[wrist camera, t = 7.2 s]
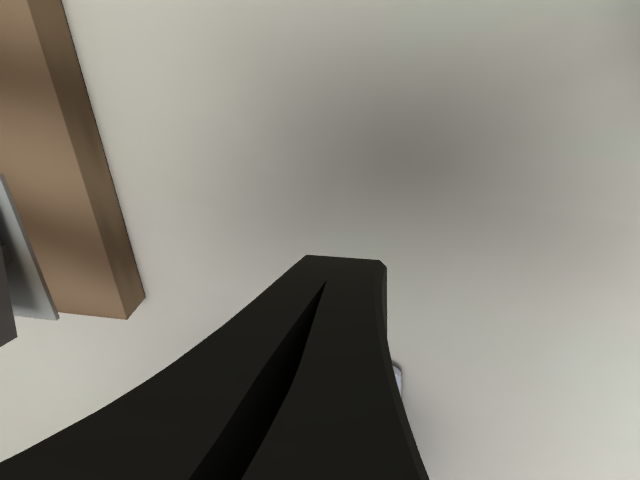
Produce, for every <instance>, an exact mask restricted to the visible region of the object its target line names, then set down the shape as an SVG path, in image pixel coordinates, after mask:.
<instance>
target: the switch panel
mask: <svg viewBox="0 0 640 480" xmlns="http://www.w3.org/2000/svg"><path fill="white" fill-rule="evenodd" d="M0 242H1V248H2V253H3V259H4V264H5V270H6V276H7V281H8V287H9V293H10V298H11V304H12V310H13V315H14V316H21V317H29V318H38V319H47V320H56V321H57V320H58V319H59V318H60V317H59V315H58V312H62V313H71V314H80V315H89V316H98V317H107V318H116V319H125V320H127V319H128V318H129V317H130V316H131V314H132V313H133V312H134V311H135V310H136V308H137V307H138V306H139V305H140V303H141V302H142V301H143V300H144V299H145V295H144V291H143V288H142V284H141V281H140V277H139V274H138V270H137V267H136V263H135V260H134V256H133V253H132V249H131V246H130V242H129V239H128V235H127V232H126V228H125V225H124V221H123V218H122V214H121V211H120V207H119V204H118V200H117V197H116V193H115V190H114V186H113V182H112V179H111V175H110V172H109V168H108V165H107V161H106V158H105V154H104V151H103V147H102V144H101V140H100V137H99V133H98V130H97V126H96V123H95V119H94V116H93V112H92V109H91V105H90V102H89V98H88V95H87V91H86V88H85V84H84V81H83V77H82V74H81V70H80V67H79V63H78V60H77V56H76V53H75V49H74V46H73V42H72V39H71V35H70V32H69V28H68V25H67V21H66V17H65V14H64V10H63V7H62V3H61V0H0Z"/></svg>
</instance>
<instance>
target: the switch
mask: <svg viewBox="0 0 640 480" xmlns="http://www.w3.org/2000/svg"><path fill="white" fill-rule="evenodd" d="M16 337H17V332H16V326H15V321H14V315H13V310H12V304H11V298H10V293H9V287H8V281H7V276H6V270H5V264H4V259H3V253H2V248H1V242H0V347H1V346H3V345H4V344H6V343H8V342H10V341H11V340H13V339H15V338H16Z"/></svg>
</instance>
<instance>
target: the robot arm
mask: <svg viewBox="0 0 640 480" xmlns="http://www.w3.org/2000/svg"><path fill="white" fill-rule="evenodd" d="M401 387H402V375H401V372H400V371H399V369H398V368H396V367H394V366H393V365H392V361H391V356H390V352H389V346H388V341H387V267H386V266H385V265H384V264H383V263H382V262H381V261H380V260H370V259H356V258H343V257H329V256H315V255H306V256H304V257H303V258H302V259H301V260H300V261H298V262H297V263H296V264H295V265H294V266H293V267H291V268H290V269H289V270H288V271H287V272H286V273H284V274H283V275H282V276H281V277H280V278H279V279H277V280H276V281H275V282H274V283H273V284H272V285H271V286H269V287H268V288H267V289H266V290H265V291H264V292H262V293H261V294H260V295H259V296H258V297H257V298H256V299H254V300H253V301H252V302H251V303H250V304H248V305H247V306H246V307H245V308H244V309H242V310H241V311H240V312H239V313H238V314H236V315H235V316H234V317H233V318H231V319H230V320H229V321H228V322H227V323H225V324H224V325H223V326H222V327H220V328H219V329H218V330H216V331H215V332H214V333H212V334H211V335H210V336H208V337H207V338H206V339H204V340H203V341H202V342H200V343H199V344H198V345H196V346H195V347H194V348H192V349H191V350H190V351H188V352H187V353H186V354H184V355H183V356H182V357H180V358H179V359H178V360H176V361H175V362H173V363H172V364H171V365H169V366H168V367H166V368H165V369H163V370H162V371H160V372H159V373H157V374H156V375H154V376H153V377H151V378H150V379H148V380H147V381H145V382H144V383H142V384H141V385H139V386H137V387H136V388H134V389H133V390H131V391H129V392H128V393H126V394H125V395H123V396H121V397H120V398H118V399H117V400H115V401H113V402H112V403H110V404H108V405H107V406H105V407H103V408H102V409H100V410H98V411H97V412H95V413H93V414H91V415H89V416H87V417H86V418H84V419H82V420H80V421H78V422H76V423H74V424H73V425H71V426H69V427H67V428H65V429H63V430H62V431H60V432H58V433H56V434H54V435H52V436H50V437H49V438H47V439H45V440H43V441H41V442H39V443H38V444H36V445H34V446H32V447H30V448H28V449H26V450H25V451H23V452H21V453H19V454H17V455H15V456H13V457H11V458H9V459H7V460H4V461H2V462H0V480H429V477H428V475H427V472H426V470H425V467H424V464H423V462H422V459H421V457H420V454H419V451H418V448H417V445H416V442H415V440H414V437H413V434H412V431H411V428H410V425H409V422H408V419H407V416H406V413H405V409H404V406H403V403H402V399H401Z"/></svg>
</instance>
